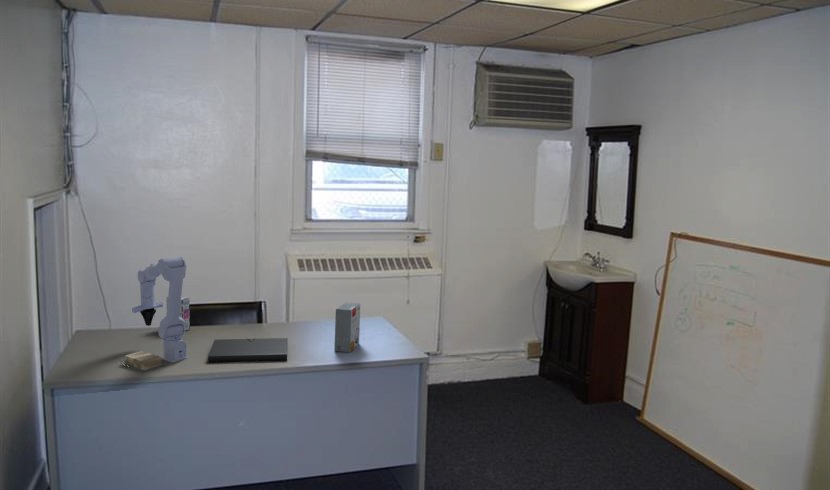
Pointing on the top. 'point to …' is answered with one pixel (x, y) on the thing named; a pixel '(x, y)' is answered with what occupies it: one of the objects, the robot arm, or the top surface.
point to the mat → (143, 370)
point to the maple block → (143, 360)
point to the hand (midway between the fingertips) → (148, 325)
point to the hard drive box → (347, 327)
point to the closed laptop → (248, 350)
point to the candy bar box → (184, 311)
